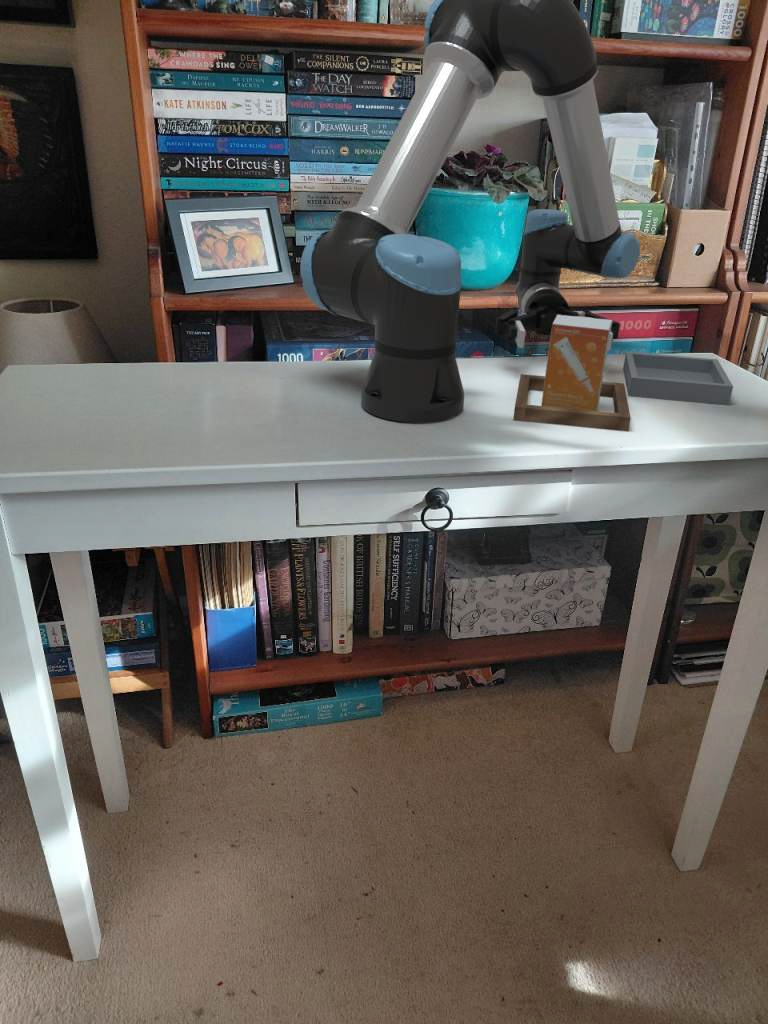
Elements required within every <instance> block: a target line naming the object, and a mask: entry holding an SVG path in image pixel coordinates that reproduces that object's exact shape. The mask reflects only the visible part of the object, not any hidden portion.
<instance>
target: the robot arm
mask: <svg viewBox="0 0 768 1024" xmlns="http://www.w3.org/2000/svg"><path fill="white" fill-rule="evenodd" d="M577 8H578V7H576V5H575V3H574V2H573V1H572V0H433V1H432V4H431V5H430V7H429V9H428V11H427V13H426V17H425V21H424V29H426V32H425V34H424V35H423V44H424V48H425V51H424V55H423V57H424V62H425V65H426V68H427V69H426V71H425V73H424V74H423V76H422V79H420V83H419V85H418V87H417V88H416V90H415V93H414V94H413V96H412V98H411V100H410V101H409V104H408V106H407V108H406V109H405V111H404V113H403V116H402V117H401V119H400V121H399V123H398V124H397V127H396V128H395V131H394V132H393V135H392V136H391V137H390V140H389V142H388V144H387V146H386V148H385V150H383V151H384V152H383V153H382V156H381V157H380V159H379V161H378V163H377V165H376V167H375V168H374V171H373V173H372V174H371V176H370V179H369V180H368V182H367V185H366V186H365V188H364V190H363V191H362V194H361V195H360V198H359V199H358V202H357V203H356V205H355V206H353V207H348V208H344V209H342V211H340V213H339V216H338V217H337V219H336V221H335V223H334V225H333V227H332V229H330V230H327V229H326V230H323V231H321V232H320V233H316V234H314V235H313V236H312V237H311V238H310V239H309V240H308V242H307V243H306V245H305V246H304V249H303V251H302V255H301V258H300V267H299V268H300V272H299V273H300V277H301V279H302V287H303V290H304V292H305V294H306V296H307V298H309V300H310V301H311V302H312V303H313V304H314V305H315V306H317V307H318V308H319V309H322V310H324V311H327V312H329V313H330V314H332V315H333V316H338V317H346V318H349V319H353V320H356V321H359V322H363V323H367V324H370V325H372V326H374V351H373V352H374V353H373V356H372V359H371V362H370V365H369V368H368V370H367V372H366V376H365V378H364V381H363V383H362V387H361V394H360V395H361V397H360V398H361V401H360V403H361V407H362V408H363V410H365V412H367V413H370V414H371V415H373V416H376V417H378V418H381V419H386V420H388V421H389V420H390V421H395V422H403V423H434V422H441V421H447V420H449V419H452V418H454V417H457V416H459V415H460V414H461V413H462V412H463V411H464V404H465V390H464V386H463V384H462V383H463V381H462V380H461V375H460V371H459V366H458V362H457V357H456V349H457V348H456V347H457V335H458V323H459V312H460V300H461V291H462V285H463V284H462V283H463V282H462V280H463V279H462V261H461V256H460V254H459V252H458V251H457V249H456V248H454V246H452V245H451V244H449V243H447V242H444V241H442V240H439V239H437V238H436V239H435V238H433V237H429V236H424V235H423V236H418V235H416V234H408V233H409V230H410V228H411V227H412V224H413V222H414V221H415V219H416V217H417V215H418V214H419V211H420V209H421V208H422V205H423V203H424V202H425V200H426V197H427V196H428V194H429V192H430V190H431V188H432V186H433V185H434V183H435V181H436V178H437V176H438V174H439V172H440V170H441V169H442V167H443V165H444V164H445V161H446V160H447V157H448V156H449V154H450V151H451V150H452V148H453V146H454V144H455V142H456V140H457V138H458V136H459V134H460V133H461V131H462V128H463V126H464V124H465V122H466V120H467V119H468V116H469V115H470V113H471V111H472V109H473V107H474V105H475V104H476V101H478V100H481V99H484V98H485V99H486V98H487V97H489V96H490V95H491V94H492V92H493V91H494V89H495V88H496V87H495V86H496V84H498V83H497V82H498V81H499V79H500V77H501V75H502V74H503V73H504V72H523V73H524V74H525V75H527V77H528V79H529V80H530V84H531V88H532V92H533V94H534V95H535V96H537V97H538V98H540V99H542V103H543V108H544V111H545V115H546V120H547V124H548V127H549V131H550V136H551V139H552V145H553V149H554V153H555V156H556V162H557V165H558V168H559V173H560V177H561V179H562V181H561V182H562V185H563V189H564V193H565V197H566V203H567V206H568V210H569V214H570V218H571V222H572V224H569V221H568V219H569V218H568V217H569V216H568V213H567V212H566V211H564V210H563V211H562V210H559V209H551V208H548V209H547V208H544V209H543V208H541V209H533V210H532V209H531V210H530V211H528V213H527V214H526V220H525V224H524V225H525V226H524V231H523V233H522V236H523V239H522V247H521V248H522V249H521V250H522V252H521V260H520V261H521V263H520V271H519V277H518V282H517V284H516V287H515V290H514V293H515V292H516V294H517V297H518V305H519V307H516V306H515V307H514V306H513V307H511V308H510V310H509V311H507V312H506V313H504V314H502V315H499V317H497V318H496V323H495V335H503V334H504V333H506V338H505V339H506V340H507V341H513V340H514V341H515V343H516V345H517V347H518V348H519V349H524V346H525V337H526V332H529V331H530V332H535V333H537V334H539V335H542V336H549V335H550V336H551V330H552V324H553V322H554V320H555V318H556V316H557V315H566V316H579V317H590V318H596V319H607V320H612V319H611V318H606V317H604V316H600V315H598V314H595V313H593V312H592V311H590V310H589V309H585V310H583V311H582V312H581V314H579V312H577V311H574V310H571V309H570V307H569V303H568V302H567V300H566V298H564V295H562V293H561V292H560V291H559V288H560V280H561V275H562V269H564V270H570V271H574V272H580V273H585V274H589V275H595V276H598V277H602V278H612V279H624V278H626V277H628V276H630V274H631V273H632V272H633V271H634V270H635V268H636V267H637V264H638V262H639V258H640V252H641V244H640V241H639V238H637V237H636V236H635V234H631V233H629V232H627V231H624V232H623V231H622V227H621V222H620V221H621V220H620V218H619V211H618V207H617V203H616V202H617V201H616V195H615V191H614V186H613V180H612V174H611V170H610V169H611V168H610V163H609V160H608V153H607V148H606V143H605V138H604V137H605V136H604V132H603V128H602V122H601V121H602V120H601V116H600V111H599V105H598V100H597V95H596V89H595V84H594V80H595V78H596V77H597V74H598V72H599V65H598V59H597V54H596V49H595V45H594V43H593V40H592V36H591V34H590V31H589V29H588V27H587V24H586V22H585V20H584V19H583V17H582V15H581V13H580V11H579V10H578V9H577ZM518 305H517V306H518ZM620 327H621V323H620V322H618V321H615V320H612V326H611V332H610V338H609V344H608V350H607V352H611V349H612V344H613V343H612V342H614V340H616V339H618V338H619V334H620Z"/></svg>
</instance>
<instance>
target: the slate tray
mask: <svg viewBox="0 0 768 1024" xmlns="http://www.w3.org/2000/svg"><path fill="white" fill-rule="evenodd" d="M623 361H624V362H623V366H622V370H623V375H624V380H625V385H626V386H625V387H626V389H627V391H626V392H627V394H628V395H627V396H628V397H632V398H633V397H635V398H647V399H656V400H657V399H658V400H667V401H678V402H688V403H689V402H690V403H701V404H712V405H713V404H714V405H724V406H730V402H731V397H732V394H733V393H732V392H733V389H734V385H733V384H732V382H731V380H730V378H729V377H728V375H727V373H726V371H725V370H724V368H723V365H722V364H721V363H720V361H719V359H716V358H704V357H693V356H681V355H669V354H660V353H659V354H656V353H645V352H631V351H625V356H624V360H623Z"/></svg>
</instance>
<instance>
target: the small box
mask: <svg viewBox="0 0 768 1024" xmlns="http://www.w3.org/2000/svg"><path fill="white" fill-rule="evenodd" d="M607 319H608V318H607ZM607 319H596V318H590V317H579V316H566V315H557V316H556V318H555V320H554V322H553V324H552V330H551V335H550V338H549V346H548V353H547V359H546V368H545V375H544V376H545V381H544V389H543V391H542V398H541V405H540V406H548V407H558V408H569V409H579V410H590V411H598V407H599V406H598V405H599V402H600V393H601V387H602V381H604V373H605V367H606V362H607V354H608V351H607V350H608V344H609V338H610V332H611V326H612V321H613V320H612V319H611V320H607Z"/></svg>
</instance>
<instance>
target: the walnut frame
mask: <svg viewBox="0 0 768 1024" xmlns="http://www.w3.org/2000/svg"><path fill="white" fill-rule="evenodd" d="M544 381H545V375H544V376H543V375H533V374H524V373H523V374H522V373H520V375H519V381H518V387H517V392H516V398H515V403H514V409H513V411H514V412H513V417H512V418H513V421H519V422H520V421H521V422H527V423H529V422H530V423H539V424H548V425H549V424H551V425H560V426H569V427H580V428H590V429H600V430H601V429H602V430H609V431H610V430H611V431H621V432H629V430H630V423H631V412H630V408H629V401H628V397H627V396H628V395H627V391H626V386H625V383H624V382H614V381H604V380H603V381H602V387H601V393H600V397H602V398H612V404H613V409H614V412H609V411H600V410H599V411H598V410H597V411H590V410H579V409H569V408H558V407H548V406H541V405H535V404H527V402H528V394H529V391H537V392H543V389H544Z"/></svg>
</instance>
